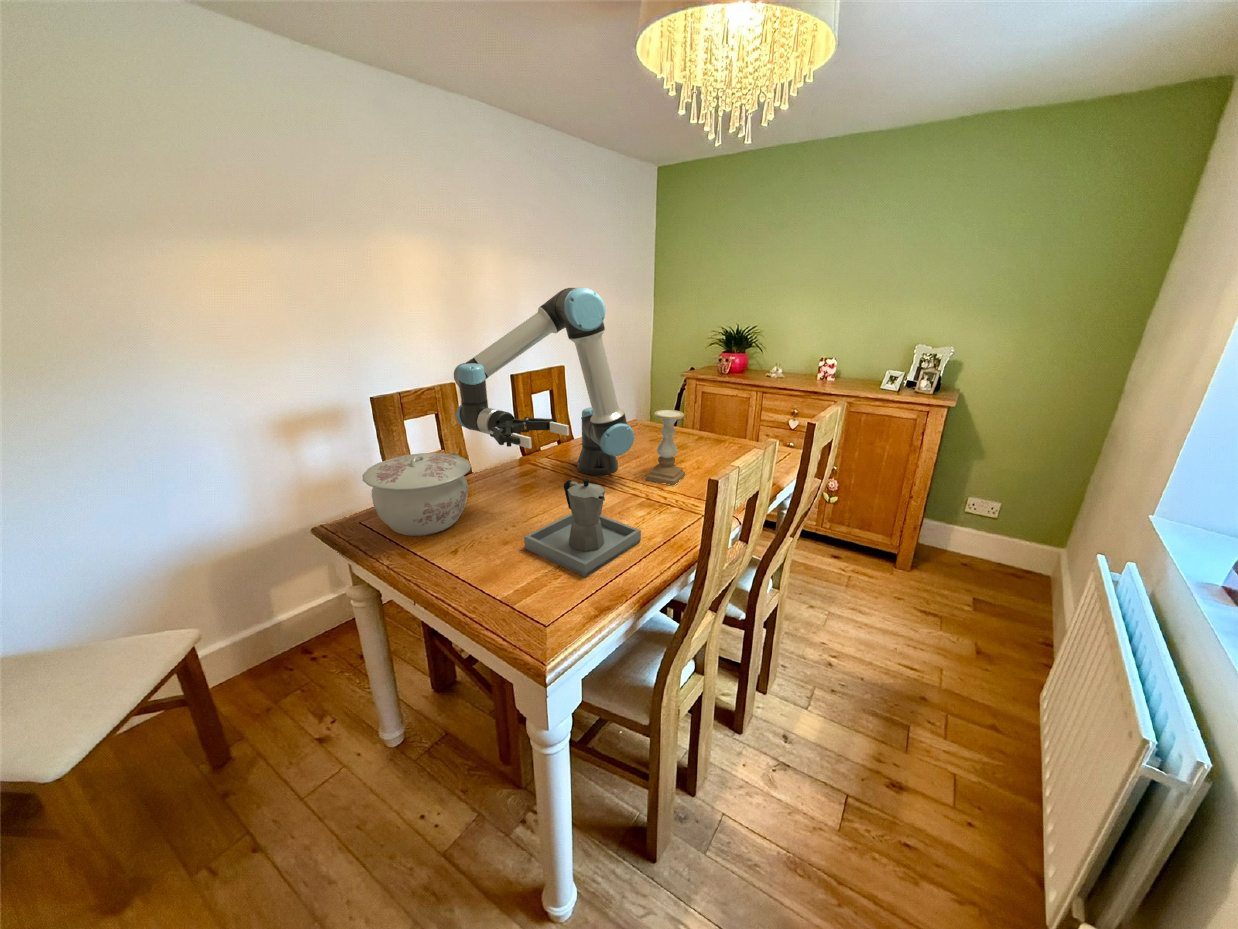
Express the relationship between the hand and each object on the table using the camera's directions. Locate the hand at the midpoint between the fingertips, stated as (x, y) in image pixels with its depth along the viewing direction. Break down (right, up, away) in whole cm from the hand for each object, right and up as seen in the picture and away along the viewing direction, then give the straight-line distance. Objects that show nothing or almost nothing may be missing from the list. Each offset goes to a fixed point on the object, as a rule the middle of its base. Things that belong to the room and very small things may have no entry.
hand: (549, 436), depth 126 cm
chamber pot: (-36, -24, +11) cm, 45 cm away
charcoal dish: (+9, -28, +1) cm, 30 cm away
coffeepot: (+9, -28, +1) cm, 29 cm away
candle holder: (+35, -12, +46) cm, 59 cm away
